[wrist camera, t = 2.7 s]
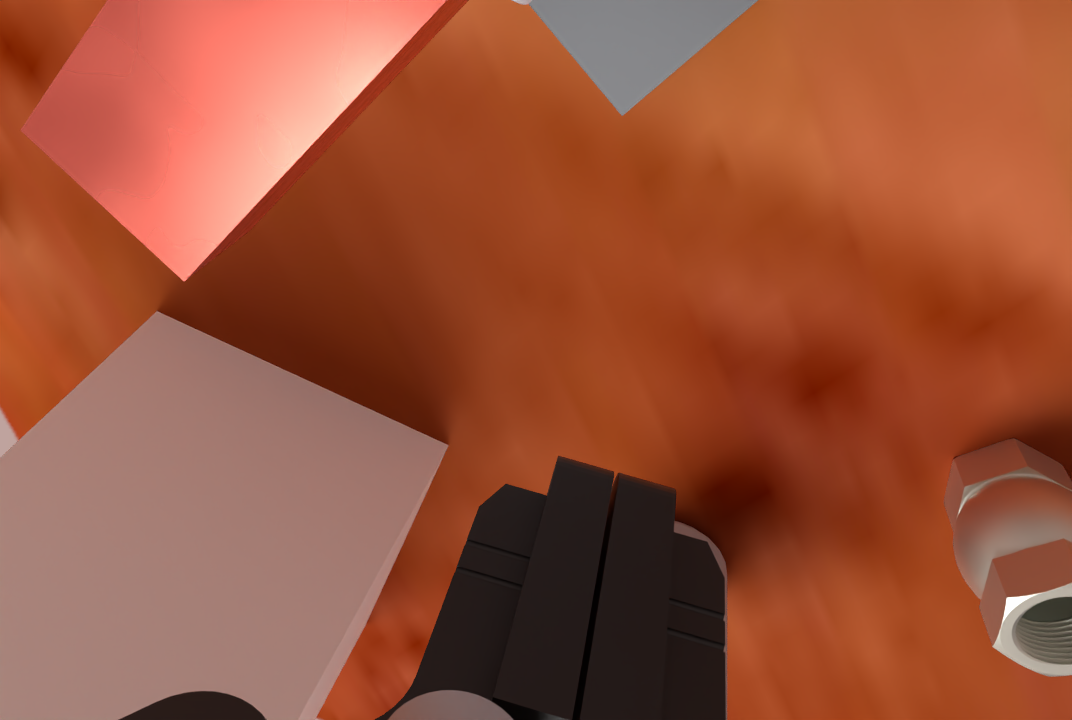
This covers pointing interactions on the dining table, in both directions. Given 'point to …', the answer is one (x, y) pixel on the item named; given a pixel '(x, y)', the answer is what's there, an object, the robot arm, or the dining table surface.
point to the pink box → (218, 106)
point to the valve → (1016, 549)
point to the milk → (196, 533)
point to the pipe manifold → (634, 38)
